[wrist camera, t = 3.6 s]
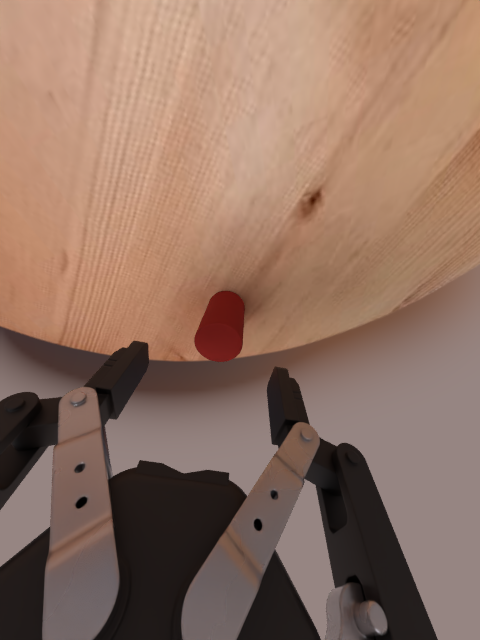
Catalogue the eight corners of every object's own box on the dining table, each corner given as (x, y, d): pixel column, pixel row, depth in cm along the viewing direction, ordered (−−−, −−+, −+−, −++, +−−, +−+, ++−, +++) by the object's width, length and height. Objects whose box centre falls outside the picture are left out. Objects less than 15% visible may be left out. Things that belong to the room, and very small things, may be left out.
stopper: (231, 283, 19) (223, 314, 14) (251, 312, 20) (251, 350, 15) (201, 302, 20) (184, 337, 15) (222, 328, 21) (213, 368, 16)
